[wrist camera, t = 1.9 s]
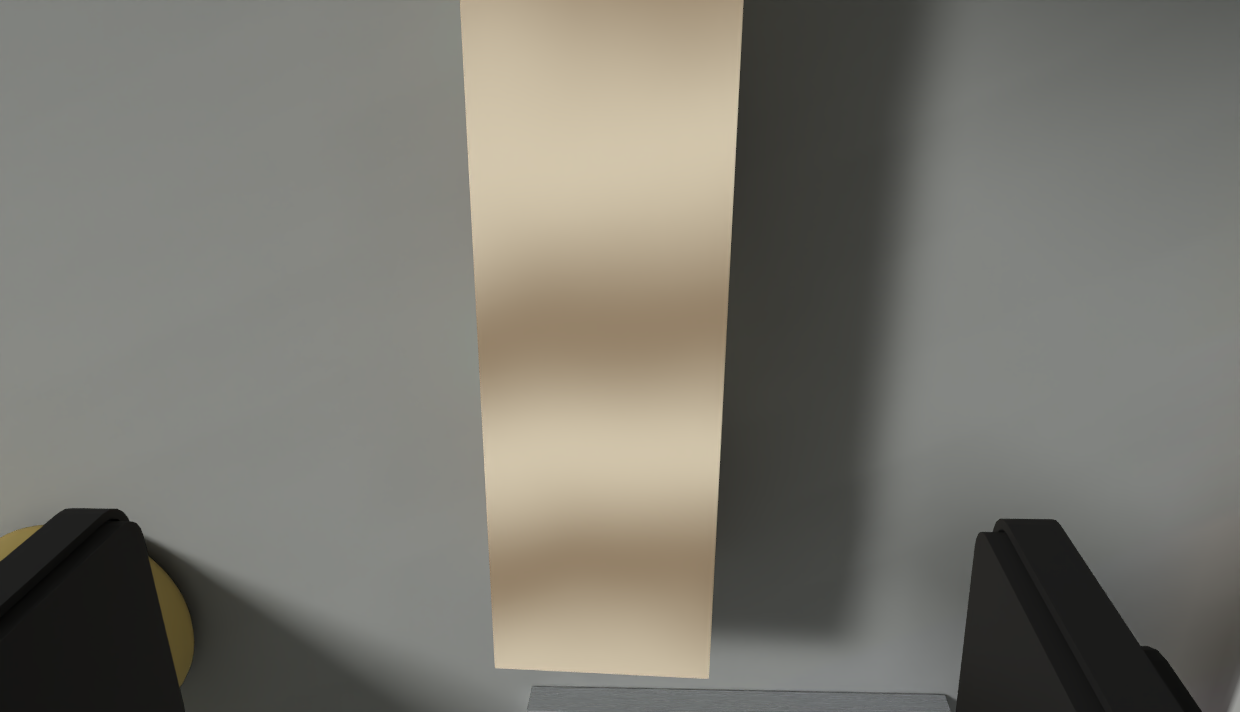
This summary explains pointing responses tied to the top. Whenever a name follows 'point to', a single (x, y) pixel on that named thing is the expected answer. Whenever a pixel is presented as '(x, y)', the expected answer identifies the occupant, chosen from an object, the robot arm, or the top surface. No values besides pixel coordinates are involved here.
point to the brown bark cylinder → (169, 600)
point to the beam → (602, 320)
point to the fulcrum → (725, 701)
